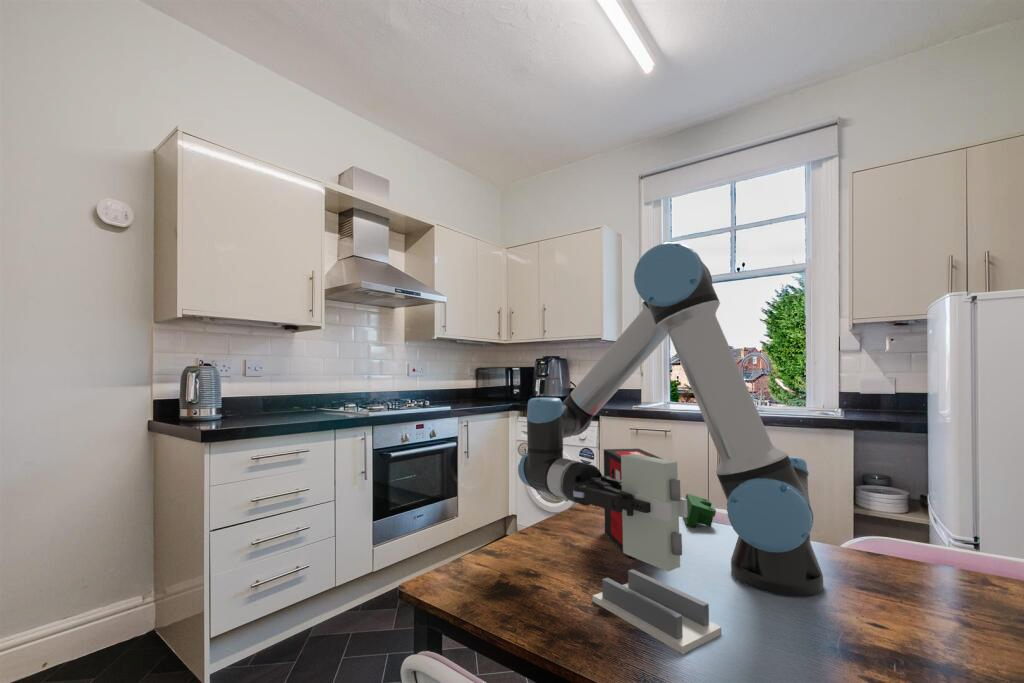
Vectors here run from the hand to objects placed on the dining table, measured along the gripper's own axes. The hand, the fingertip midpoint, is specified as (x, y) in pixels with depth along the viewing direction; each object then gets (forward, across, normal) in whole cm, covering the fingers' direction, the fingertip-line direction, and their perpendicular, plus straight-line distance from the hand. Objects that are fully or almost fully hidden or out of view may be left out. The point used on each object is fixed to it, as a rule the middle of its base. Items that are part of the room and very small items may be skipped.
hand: (677, 510), depth 72 cm
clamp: (-31, -48, -18) cm, 60 cm away
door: (-5, 0, -9) cm, 11 cm away
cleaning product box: (-29, -22, -18) cm, 41 cm away
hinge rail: (-5, 0, -18) cm, 19 cm away
